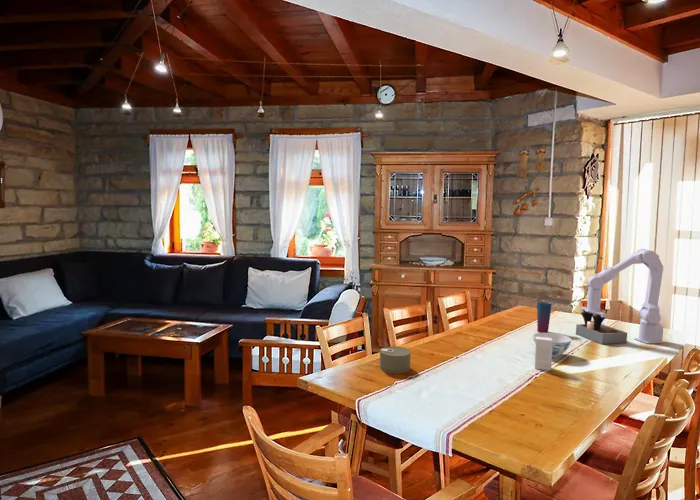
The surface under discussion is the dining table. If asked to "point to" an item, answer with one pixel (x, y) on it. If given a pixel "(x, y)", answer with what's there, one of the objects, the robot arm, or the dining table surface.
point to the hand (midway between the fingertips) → (592, 328)
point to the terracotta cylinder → (591, 325)
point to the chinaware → (556, 342)
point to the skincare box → (543, 353)
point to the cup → (543, 316)
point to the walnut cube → (608, 330)
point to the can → (395, 359)
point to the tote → (601, 335)
